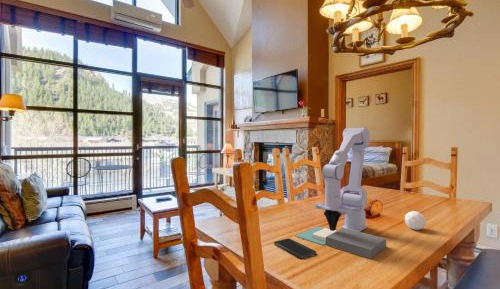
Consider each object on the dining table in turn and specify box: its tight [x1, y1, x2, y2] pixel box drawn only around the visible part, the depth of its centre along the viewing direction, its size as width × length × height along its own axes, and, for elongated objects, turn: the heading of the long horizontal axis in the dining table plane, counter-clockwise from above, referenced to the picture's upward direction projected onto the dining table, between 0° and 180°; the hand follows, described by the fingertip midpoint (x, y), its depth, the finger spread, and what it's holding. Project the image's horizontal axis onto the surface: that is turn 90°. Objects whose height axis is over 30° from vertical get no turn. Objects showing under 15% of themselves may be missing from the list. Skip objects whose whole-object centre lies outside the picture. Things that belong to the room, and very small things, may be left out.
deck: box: [325, 228, 387, 260], centre depth 94 cm, size 14×16×3 cm
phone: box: [273, 237, 317, 260], centre depth 92 cm, size 8×1×15 cm
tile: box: [312, 227, 338, 242], centre depth 103 cm, size 10×7×2 cm
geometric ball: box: [404, 210, 427, 231], centre depth 112 cm, size 8×8×8 cm
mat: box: [295, 226, 326, 246], centre depth 105 cm, size 16×12×1 cm
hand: (332, 229), depth 101 cm, fingers closed
